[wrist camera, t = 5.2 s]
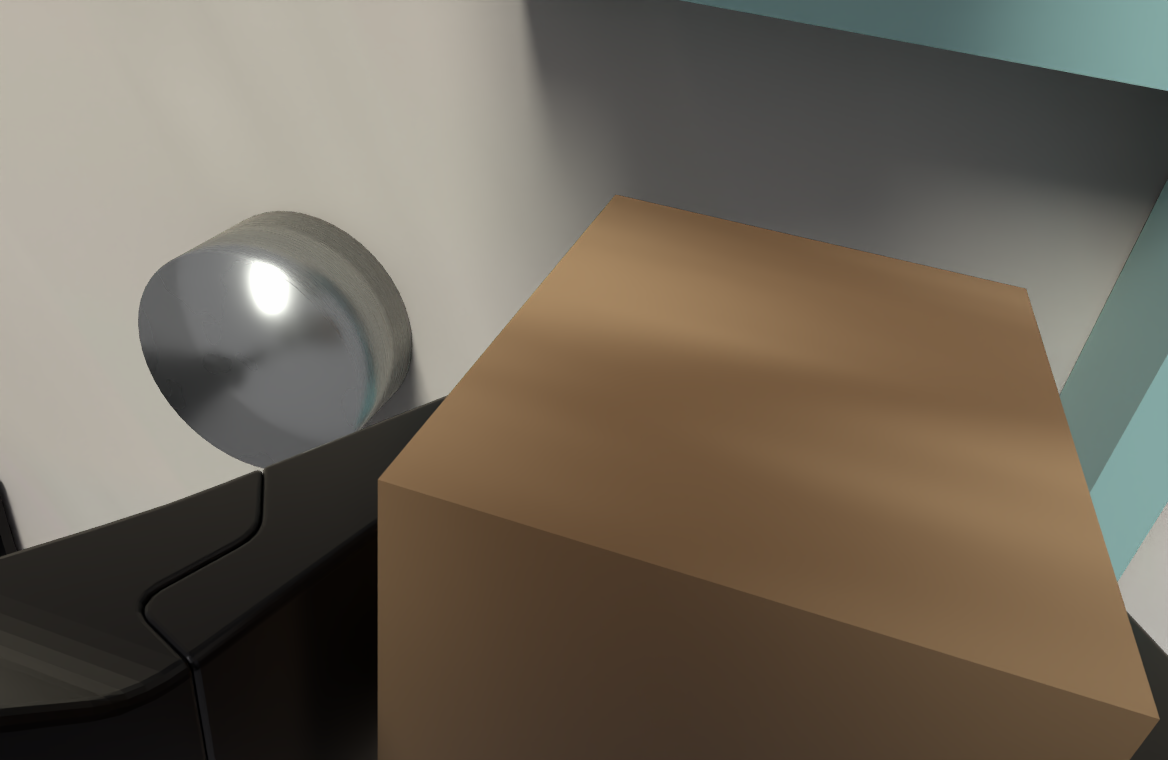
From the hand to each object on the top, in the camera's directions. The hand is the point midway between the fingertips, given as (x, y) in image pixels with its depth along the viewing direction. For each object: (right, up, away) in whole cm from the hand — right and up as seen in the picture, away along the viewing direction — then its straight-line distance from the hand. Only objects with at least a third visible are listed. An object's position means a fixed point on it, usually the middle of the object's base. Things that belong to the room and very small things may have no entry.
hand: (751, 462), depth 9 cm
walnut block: (0, +1, +1) cm, 1 cm away
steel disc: (-9, +3, +15) cm, 18 cm away
